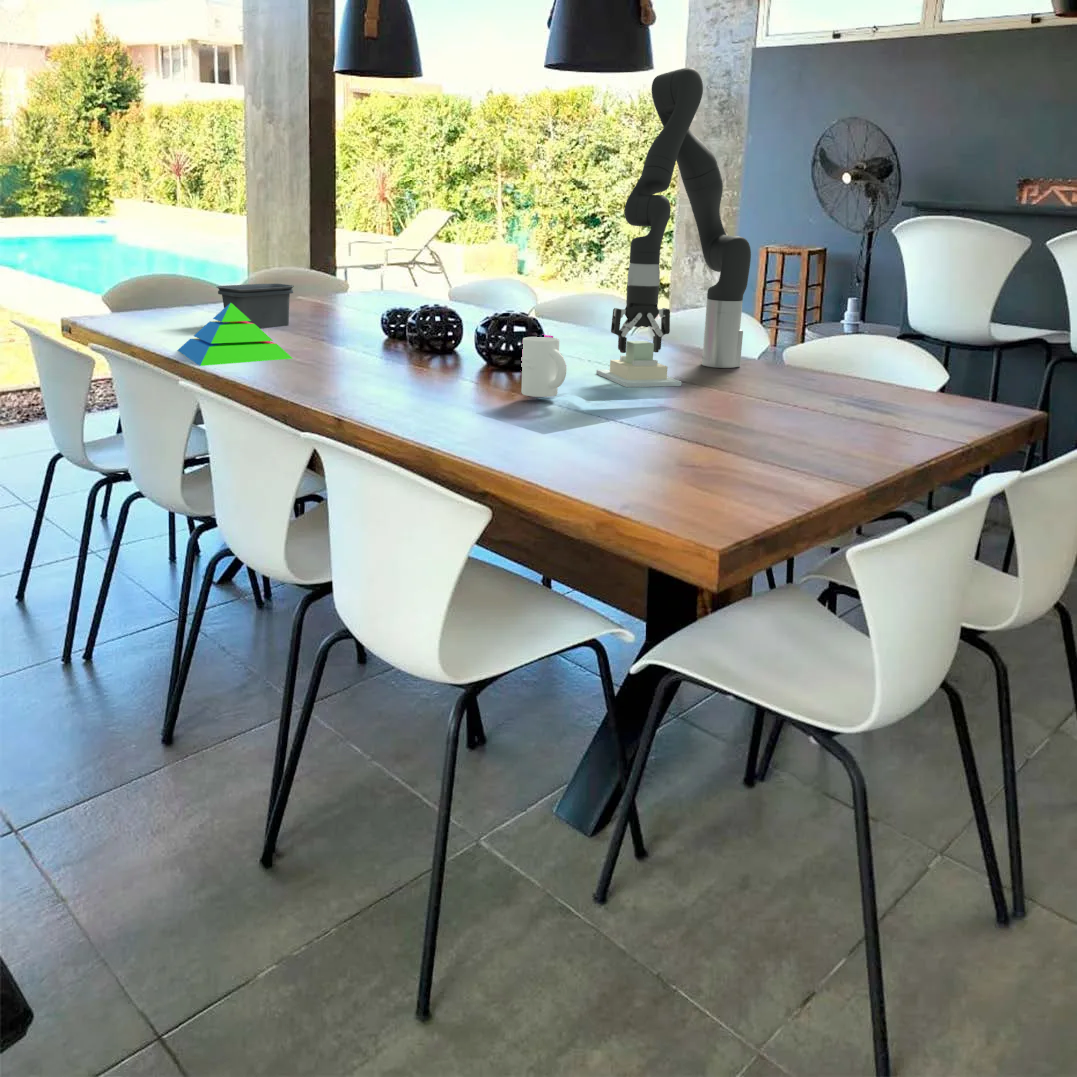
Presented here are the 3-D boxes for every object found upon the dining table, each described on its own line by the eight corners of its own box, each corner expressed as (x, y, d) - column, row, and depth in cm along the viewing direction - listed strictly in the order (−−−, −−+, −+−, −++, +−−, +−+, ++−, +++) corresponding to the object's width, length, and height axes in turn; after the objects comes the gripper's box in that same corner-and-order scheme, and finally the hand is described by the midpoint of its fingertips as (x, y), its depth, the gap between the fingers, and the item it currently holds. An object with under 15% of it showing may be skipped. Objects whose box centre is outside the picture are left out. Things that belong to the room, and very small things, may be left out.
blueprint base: (648, 372, 263) (649, 352, 261) (681, 385, 245) (682, 363, 243) (596, 373, 259) (597, 352, 257) (626, 387, 241) (627, 364, 239)
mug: (549, 401, 220) (551, 344, 217) (513, 392, 229) (514, 338, 225) (577, 397, 226) (579, 341, 222) (540, 389, 234) (542, 335, 230)
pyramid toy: (172, 354, 274) (168, 299, 270) (265, 349, 287) (262, 297, 283) (199, 367, 254) (194, 308, 250) (297, 362, 267) (294, 305, 263)
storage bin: (239, 338, 304) (236, 288, 299) (211, 333, 314) (208, 284, 309) (300, 333, 319) (298, 286, 314) (271, 328, 329) (269, 282, 324)
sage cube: (644, 361, 254) (645, 340, 252) (652, 364, 249) (653, 343, 248) (625, 361, 252) (626, 341, 251) (633, 364, 248) (634, 343, 246)
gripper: (664, 282, 250) (660, 350, 255) (609, 281, 246) (606, 350, 251) (677, 284, 244) (672, 354, 249) (621, 284, 239) (617, 354, 244)
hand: (639, 352), depth 250 cm, fingers open, 8 cm apart
